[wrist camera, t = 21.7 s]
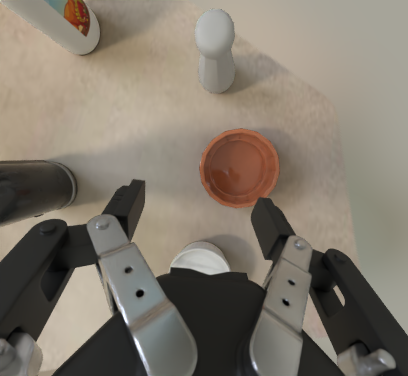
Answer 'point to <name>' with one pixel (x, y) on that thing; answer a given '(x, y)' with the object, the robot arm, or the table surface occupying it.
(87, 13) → the milk bottle
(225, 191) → the bowl
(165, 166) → the table surface
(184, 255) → the ramekin
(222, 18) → the salt shaker
